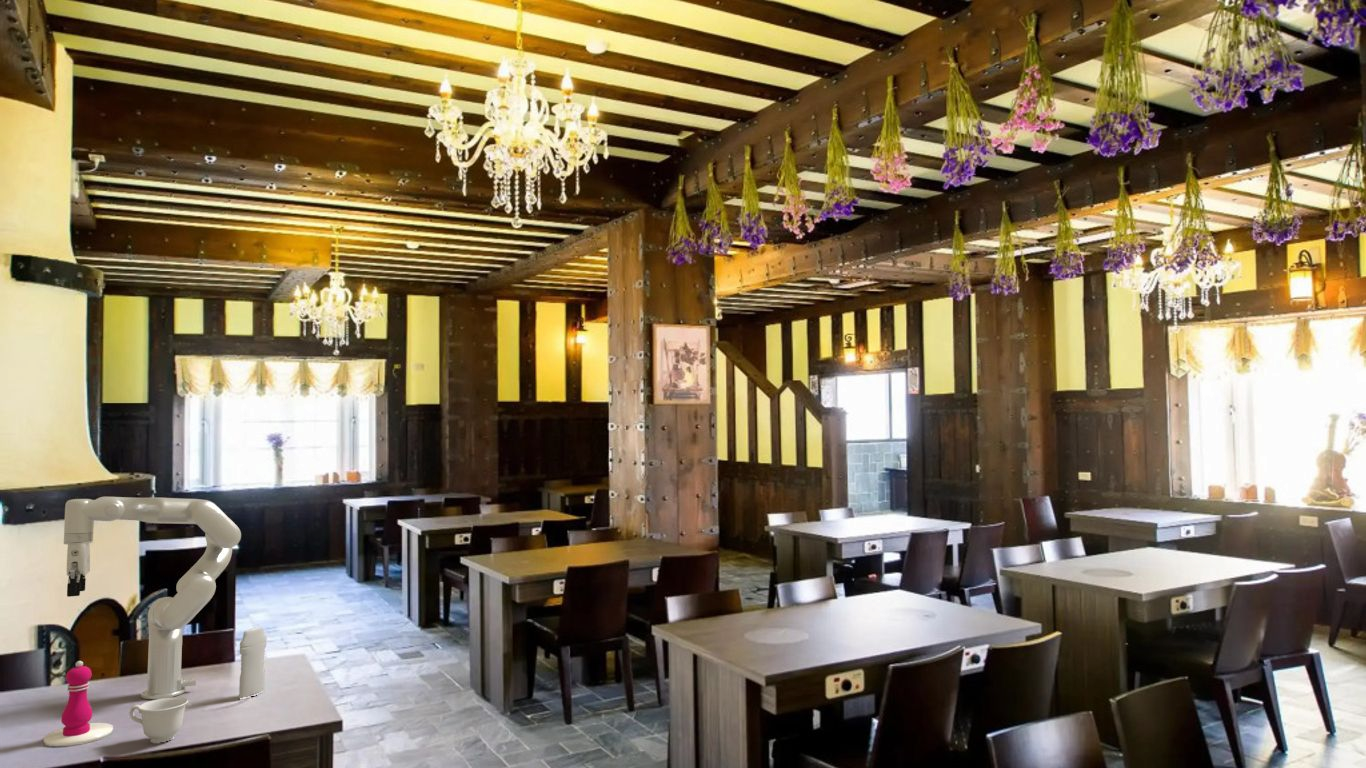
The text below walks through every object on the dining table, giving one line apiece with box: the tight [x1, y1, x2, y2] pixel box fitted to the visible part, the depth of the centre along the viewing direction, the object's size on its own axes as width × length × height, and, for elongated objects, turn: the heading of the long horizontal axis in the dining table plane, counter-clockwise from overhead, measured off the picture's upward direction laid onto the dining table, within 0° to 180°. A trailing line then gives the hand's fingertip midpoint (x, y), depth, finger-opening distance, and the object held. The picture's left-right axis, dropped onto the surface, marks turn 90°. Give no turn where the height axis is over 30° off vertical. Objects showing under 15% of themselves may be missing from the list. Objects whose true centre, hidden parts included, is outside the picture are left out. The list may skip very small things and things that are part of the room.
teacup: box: [128, 696, 189, 744], centre depth 237 cm, size 12×15×10 cm
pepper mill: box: [60, 660, 93, 736], centre depth 240 cm, size 7×7×20 cm
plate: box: [43, 722, 114, 747], centre depth 240 cm, size 16×16×1 cm
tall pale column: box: [238, 626, 267, 699], centre depth 278 cm, size 11×4×22 cm, turn 161°
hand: (76, 593), depth 264 cm, fingers open, 9 cm apart
